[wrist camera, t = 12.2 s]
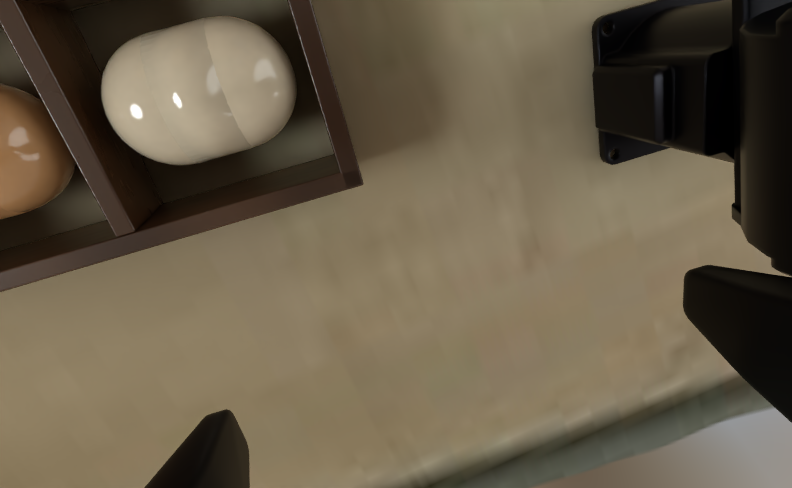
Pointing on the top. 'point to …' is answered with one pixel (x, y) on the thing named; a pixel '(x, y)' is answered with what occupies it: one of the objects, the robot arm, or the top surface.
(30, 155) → the brown egg
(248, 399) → the top surface
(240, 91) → the cream egg
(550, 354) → the top surface
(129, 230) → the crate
